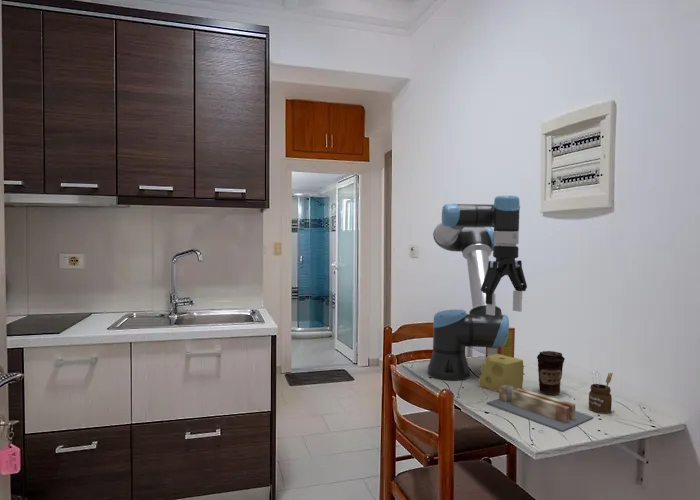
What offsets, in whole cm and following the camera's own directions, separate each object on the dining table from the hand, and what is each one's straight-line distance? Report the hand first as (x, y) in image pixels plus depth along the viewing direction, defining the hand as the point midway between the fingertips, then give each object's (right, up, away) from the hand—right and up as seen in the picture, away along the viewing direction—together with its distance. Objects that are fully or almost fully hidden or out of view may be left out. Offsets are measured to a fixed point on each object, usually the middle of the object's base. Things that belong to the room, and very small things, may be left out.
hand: (504, 313), depth 144 cm
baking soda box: (+11, -26, +37) cm, 46 cm away
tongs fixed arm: (+5, -27, -10) cm, 29 cm away
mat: (+6, -27, -10) cm, 30 cm away
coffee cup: (+17, -27, +6) cm, 32 cm away
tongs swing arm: (+8, -27, -11) cm, 30 cm away
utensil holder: (+25, -28, -9) cm, 38 cm away
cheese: (+3, -27, +10) cm, 29 cm away
